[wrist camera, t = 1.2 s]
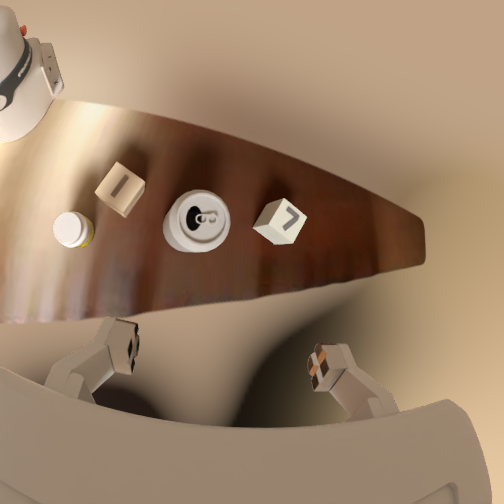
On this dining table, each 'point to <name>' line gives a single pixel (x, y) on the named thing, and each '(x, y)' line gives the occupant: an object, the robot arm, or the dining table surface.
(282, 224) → the cream white block seven
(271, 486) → the robot arm
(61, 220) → the supplement bottle
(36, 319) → the dining table surface
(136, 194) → the birch block one
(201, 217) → the can
